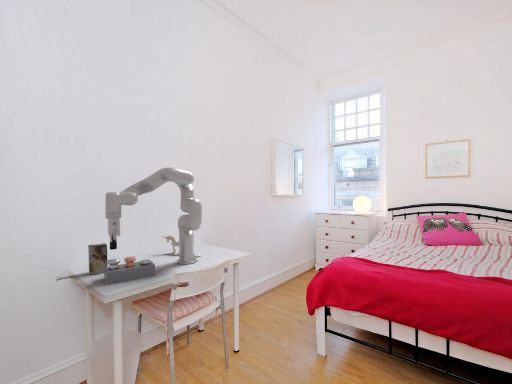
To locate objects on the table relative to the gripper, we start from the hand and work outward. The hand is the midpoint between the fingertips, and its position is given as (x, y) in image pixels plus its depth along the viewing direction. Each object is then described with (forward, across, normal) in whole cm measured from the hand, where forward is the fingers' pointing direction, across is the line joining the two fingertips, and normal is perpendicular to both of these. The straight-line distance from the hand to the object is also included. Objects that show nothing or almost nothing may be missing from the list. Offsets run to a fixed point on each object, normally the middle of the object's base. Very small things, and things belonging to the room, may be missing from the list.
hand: (113, 249), depth 140 cm
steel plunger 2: (+15, 0, -16) cm, 22 cm away
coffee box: (+17, +19, +6) cm, 26 cm away
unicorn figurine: (+16, +33, -44) cm, 57 cm away
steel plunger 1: (+12, 0, 0) cm, 12 cm away
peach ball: (+12, 0, -8) cm, 15 cm away
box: (+17, 0, -8) cm, 19 cm away
